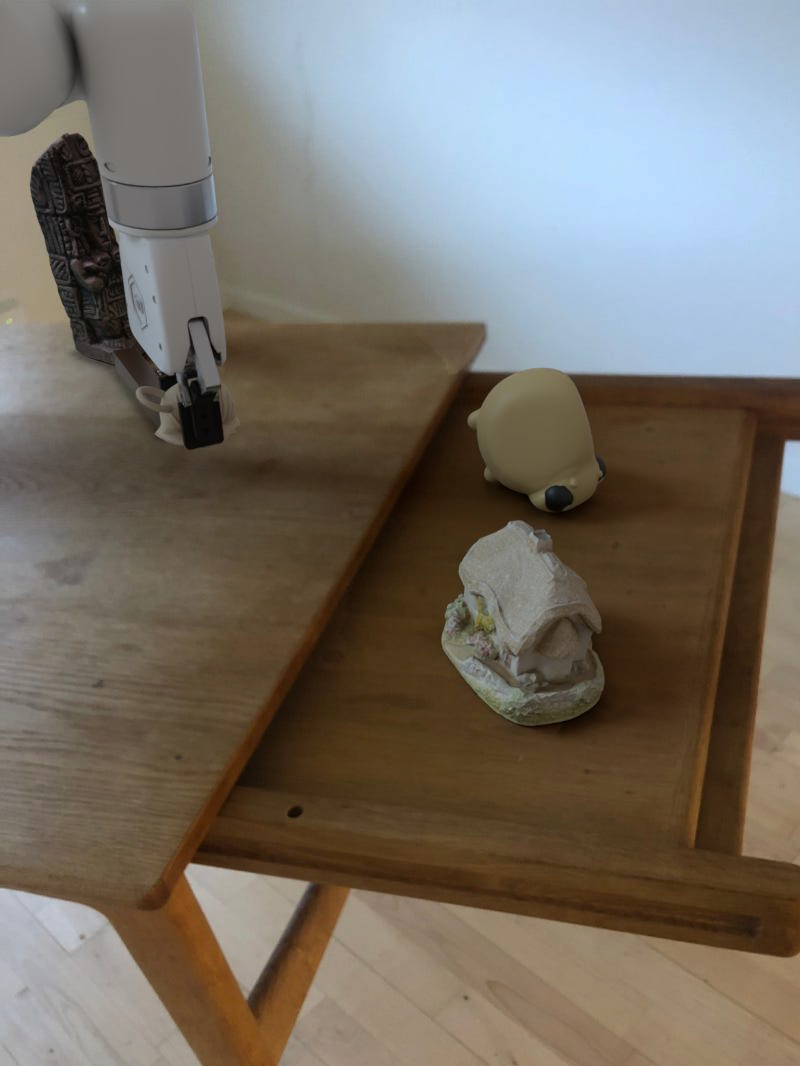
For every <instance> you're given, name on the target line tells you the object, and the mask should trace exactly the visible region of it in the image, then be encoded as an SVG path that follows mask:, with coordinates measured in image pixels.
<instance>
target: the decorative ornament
mask: <svg viewBox="0 0 800 1066" xmlns="http://www.w3.org/2000/svg"><path fill="white" fill-rule="evenodd" d="M194 380H197V378H192V379H188V384H189V386H190V384H191V381H194ZM143 393H150V394H153V395H156V396H158V397H160V398H162V399H161V403H160V405H158V404H155V403H153V402H150V401H149V400H147V399H146V398H145V397H144V396H143ZM136 396H137V398H138V400H139V401H140V402H141V403H142V404H144V405H145V406H147V407H148V408H150V409H152V410H155V411H158V412H160V420H161V426H160V427H159V429H157V430H156V431H155V433H154V435H155V436H156V437H158V438H159V439H162V440H163V441H164V442H166V443H168V444H172V445H175V446H178V447H182V446H183V447H185V446H184V443H183V437H182V430H181V424H180V418H179V411H178V405H177V403H178V402H182V401H181V397H180V392H179V387H178V383H177V384H176V385H174V386H172V387H171V388H170V389H169V390H167V391H166V392H165V391H163V390H161V389H158V388H155V387H151V386H142V387H140V388H138V389H137V390H136ZM219 396H220V400H219V401H220V409H221V417H222V425H223V433H224V441H223V442H222V443H220V444H215V445H211V446H206V447H201V448H200V449H209V448H210V447H215V446H217V445H221V444H223V443H225V442H227V441H228V439H229V437H231V436H233V435H235V434H236V430H237V429H239V428H240V426H241V418H239V417H238V416H237V409H236V406H235V404H234V399H233V396H232V394H231V393H230V391H229V389H228V388H227V386H226V385H225V384H224V383H223V382H222V381H221V389H220V390H219Z"/></svg>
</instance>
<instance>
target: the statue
mask: <svg viewBox="0 0 800 1066" xmlns="http://www.w3.org/2000/svg"><path fill="white" fill-rule="evenodd" d="M29 180H30V181H29V191H30V197H31V199H32V204H33V210H34V211H35V215H36V219H37V222H38V225H39V227H40V231H41V234H42V235H43V239H44V244H45V249H46V253H47V254H48V258H49V266H50V270H51V273H52V276H53V279H54V282H55V284H56V288H57V293H58V296H59V300H60V302H61V304H62V306H63V308H64V311H65V313H66V316H67V317H68V318H69V327H70V329H71V333H72V335H71V336H72V340H73V342H74V347H75V350H76V351H77V352H79V353H80V354H82V355H84V356H86V357H88V358H90V359H94V360H98V361H102V362H105V363H108V364H111V365H115V362H114V357H113V352H112V351H114V350H120V349H126V348H132V347H135V348H136V349H137V350H138V352H139V353H140V354H141V355H142V356H143V354H144V353H146V352H145V350H144V349H143V348H142V346H141V345H140V344H139V342H138V341H137V340H136V338H135V337H134V335H133V333H132V331H131V328H130V324H129V318H128V311H127V304H126V297H125V290H124V282H123V275H122V267H121V259H120V251H119V241H117V236H116V232H115V229H113V228H112V227H111V226H110V225H109V221H108V216H107V211H106V205H105V200H104V194H103V189H102V183H101V178H100V172H99V167H98V162H97V157H95V156H94V154H93V152H92V150H91V149H90V146H89V144H88V142H87V140H86V139H85V137H84V136H83V135H81V134H80V133H79V132H74V133H68V132H65V133H63V134H62V135H61V136H60V137H58V138H57V139H56V140H55V141H53V142H52V143H50V145H49V146H48V147H46V148H45V150H43V152H42V153H41V154H40V155H39V157H38V158H37V160H35V161H34V163H33V165H32V167H31V170H30V179H29Z"/></svg>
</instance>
